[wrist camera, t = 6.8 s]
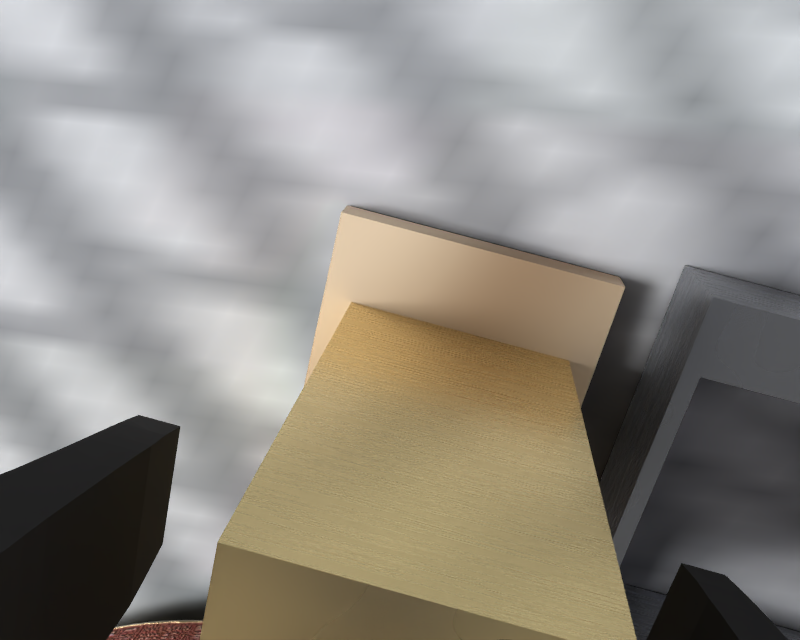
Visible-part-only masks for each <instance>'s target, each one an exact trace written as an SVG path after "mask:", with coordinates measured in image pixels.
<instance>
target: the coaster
mask: <svg viewBox="0 0 800 640" xmlns="http://www.w3.org/2000/svg"><path fill="white" fill-rule="evenodd" d="M624 289H625V286H624V284H623V282H622V280H621V279H620V277H617V276H614V275H610V274H606V273H602V272H599V271H595V270H591V269H587V268H583V267H580V266H576V265H572V264H568V263H564V262H561V261H557V260H553V259H549V258H545V257H542V256H538V255H534V254H530V253H526V252H523V251H519V250H515V249H511V248H507V247H504V246H500V245H496V244H492V243H489V242H485V241H481V240H477V239H473V238H470V237H466V236H462V235H458V234H454V233H451V232H447V231H443V230H439V229H435V228H432V227H428V226H424V225H420V224H416V223H413V222H409V221H405V220H401V219H397V218H394V217H390V216H386V215H382V214H379V213H375V212H371V211H367V210H363V209H360V208H356V207H352V206H348V205H347V207H346V208H345V209H344V210H343V211H342V212H341V216H340V221H339V225H338V230H337V235H336V239H335V244H334V249H333V253H332V258H331V263H330V267H329V272H328V277H327V281H326V286H325V291H324V295H323V300H322V305H321V309H320V314H319V319H318V323H317V328H316V333H315V337H314V342H313V347H312V351H311V356H310V361H309V365H308V370H307V375H306V380H305V384H306V383H307V381H308V379H309V377H310V375H311V374H312V372H313V370H314V368H315V366H316V365H317V363H318V361H319V359H320V357H321V356H322V354H323V352H324V350H325V348H326V347H327V345H328V343H329V341H330V339H331V338H332V336H333V334H334V332H335V330H336V329H337V327H338V325H339V323H340V321H341V320H342V318H343V316H344V314H345V312H346V311H347V309H348V307H349V305H350V303H351V302H353V303H357V304H361V305H365V306H368V307H372V308H376V309H380V310H383V311H387V312H391V313H394V314H398V315H402V316H406V317H409V318H413V319H417V320H420V321H424V322H428V323H432V324H435V325H439V326H443V327H446V328H450V329H454V330H458V331H461V332H465V333H469V334H473V335H476V336H480V337H484V338H487V339H491V340H495V341H499V342H502V343H506V344H510V345H513V346H517V347H521V348H525V349H528V350H532V351H536V352H539V353H543V354H547V355H551V356H554V357H558V358H562V359H565V360H569V363H570V367H571V371H572V375H573V380H574V384H575V388H576V392H577V396H578V400H579V404H580V408H581V406H582V403H583V400H584V398H585V395H586V392H587V390H588V387H589V384H590V381H591V379H592V376H593V373H594V371H595V368H596V365H597V362H598V360H599V357H600V354H601V352H602V349H603V346H604V343H605V341H606V338H607V335H608V333H609V330H610V327H611V324H612V322H613V319H614V316H615V313H616V311H617V308H618V305H619V303H620V300H621V297H622V294H623V292H624ZM305 384H304V386H305Z"/></svg>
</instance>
